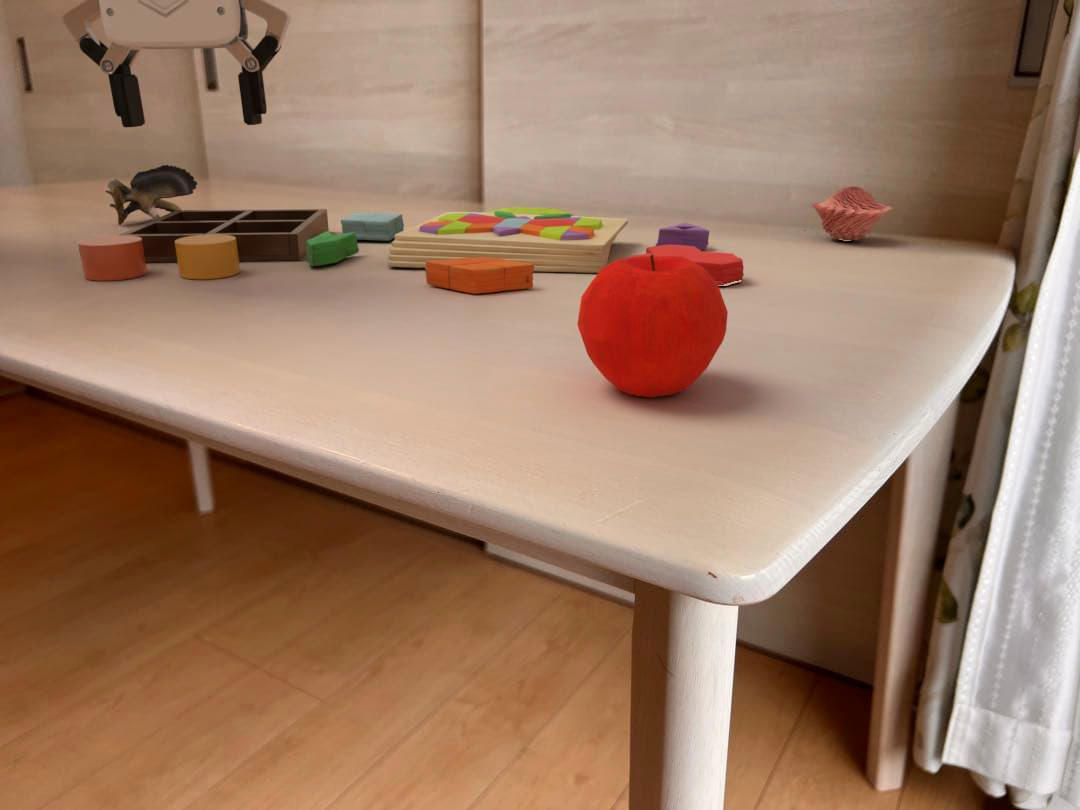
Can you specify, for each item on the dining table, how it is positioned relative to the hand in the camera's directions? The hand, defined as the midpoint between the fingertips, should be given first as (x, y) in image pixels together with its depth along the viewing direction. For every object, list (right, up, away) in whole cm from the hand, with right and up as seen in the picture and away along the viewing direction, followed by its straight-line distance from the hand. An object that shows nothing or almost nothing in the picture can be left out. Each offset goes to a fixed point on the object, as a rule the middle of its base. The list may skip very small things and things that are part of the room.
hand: (194, 125), depth 71 cm
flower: (+61, -6, +19) cm, 64 cm away
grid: (-3, -7, +17) cm, 19 cm away
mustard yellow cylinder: (0, -12, +4) cm, 12 cm away
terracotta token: (-8, -12, +4) cm, 15 cm away
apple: (+35, -22, -23) cm, 47 cm away
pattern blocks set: (+26, -9, +13) cm, 30 cm away
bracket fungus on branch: (-17, -1, +32) cm, 36 cm away
